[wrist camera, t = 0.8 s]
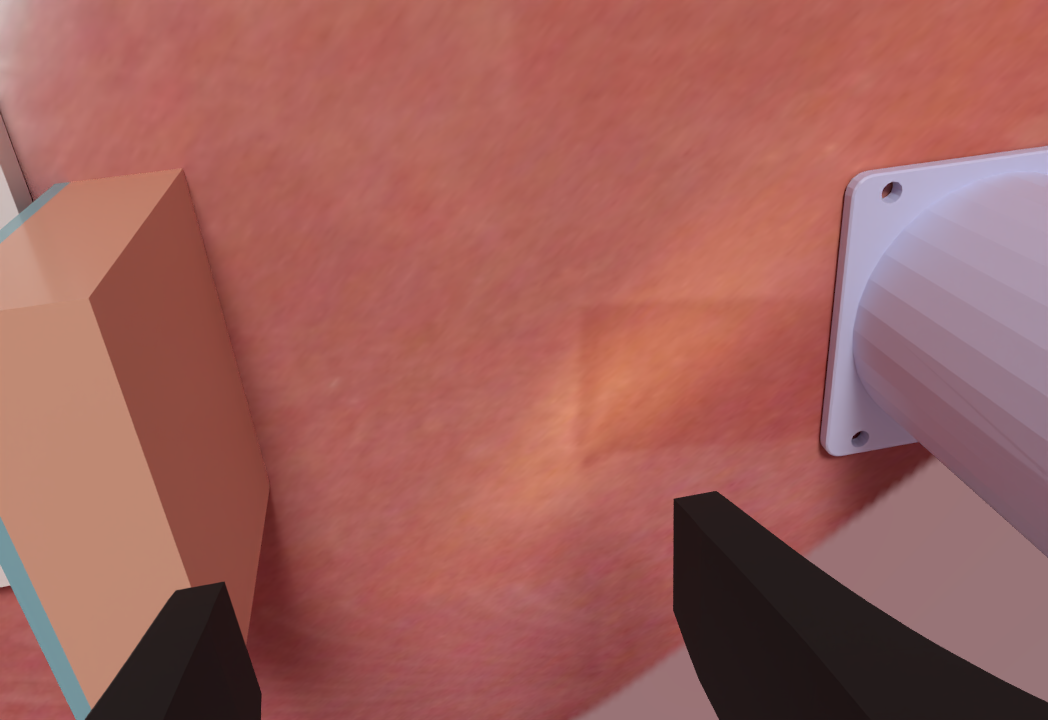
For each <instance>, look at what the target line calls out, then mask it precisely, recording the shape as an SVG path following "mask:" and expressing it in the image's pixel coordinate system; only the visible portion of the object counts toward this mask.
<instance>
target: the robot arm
mask: <svg viewBox="0 0 1048 720" xmlns="http://www.w3.org/2000/svg"><path fill="white" fill-rule="evenodd" d="M891 182H892V183H893V188H892V190H891V193H890V194H889V195H888V196H887V197H885V198H882V195H881V194H882V191H883V188H884V187H885V186H886V185H887V184H888V183H891ZM860 431H861V433H860V435H859V436H858V437H857V438H854V439H852V438H853V436H854V435H855V434H856V433H857V432H860ZM820 441H821V445H822V446H823V447H824V449H825V450H826V451H827V452H828V453H829V454H831V455H833V456H844V455H850V454H855V453H861V452H866V451H872V450H877V449H883V448H888V447H894V446H899V445H905V444H910V443H916V442H919V443H920V444H922V445H923V446H924V447H925V448H926V449H927V450H928V451H929V452H930V453H932V454H933V455H934V456H935V457H936V458H937V459H938V460H939V461H941V462H942V463H943V464H944V465H945V466H946V467H947V468H948V469H949V470H951V471H952V472H953V473H954V474H955V475H956V476H957V477H958V478H959V479H961V480H962V481H963V482H964V483H965V484H966V485H967V486H969V487H970V488H971V489H972V490H973V491H974V492H975V493H976V494H977V495H979V496H980V497H981V498H982V499H983V500H984V501H985V502H986V503H988V504H989V505H990V506H991V507H992V508H993V509H994V510H995V511H996V512H997V513H999V514H1000V515H1001V516H1002V517H1003V518H1004V519H1005V520H1006V521H1008V522H1009V523H1010V524H1011V525H1012V526H1013V527H1014V528H1015V529H1016V530H1018V531H1019V532H1020V533H1021V534H1022V535H1023V536H1024V537H1025V538H1027V539H1028V540H1029V541H1030V542H1031V543H1032V544H1033V545H1034V546H1035V547H1037V548H1038V549H1039V550H1040V551H1041V552H1042V553H1043V554H1044V555H1046V556H1047V557H1048V146H1043V147H1036V148H1029V149H1022V150H1014V151H1007V152H1000V153H992V154H985V155H978V156H971V157H963V158H956V159H949V160H941V161H934V162H927V163H920V164H912V165H905V166H898V167H890V168H883V169H876V170H869V171H865V172H862V173H859V174H858V175H856V176H855V177H854V178H853V179H852V180H851V181H850V183H849V184H848V186H847V189H846V192H845V199H844V209H843V219H842V229H841V239H840V249H839V258H838V268H837V278H836V288H835V298H834V308H833V318H832V327H831V337H830V347H829V357H828V367H827V377H826V387H825V396H824V406H823V416H822V426H821V436H820ZM673 611H674V614H675V617H676V619H677V622H678V625H679V628H680V630H681V633H682V636H683V639H684V642H685V644H686V647H687V650H688V652H689V655H690V658H691V660H692V663H693V665H694V668H695V670H696V673H697V676H698V678H699V681H700V683H701V684H702V687H703V688H704V690H705V693H706V695H707V697H708V699H709V701H710V702H711V704H712V706H713V708H714V710H715V712H716V714H717V716H718V718H719V720H1048V702H1046V701H1044V700H1042V699H1039V698H1037V697H1035V696H1033V695H1031V694H1029V693H1027V692H1025V691H1023V690H1021V689H1019V688H1017V687H1015V686H1013V685H1011V684H1009V683H1007V682H1005V681H1003V680H1001V679H999V678H997V677H995V676H994V675H992V674H990V673H988V672H986V671H984V670H983V669H981V668H979V667H977V666H975V665H973V664H971V663H970V662H968V661H966V660H964V659H962V658H960V657H958V656H957V655H955V654H953V653H951V652H950V651H948V650H946V649H944V648H942V647H940V646H939V645H937V644H935V643H934V642H932V641H930V640H929V639H927V638H925V637H923V636H922V635H920V634H918V633H917V632H915V631H913V630H912V629H910V628H909V627H907V626H905V625H904V624H902V623H901V622H899V621H897V620H896V619H894V618H892V617H891V616H890V615H888V614H886V613H885V612H883V611H882V610H880V609H878V608H877V607H875V606H874V605H872V604H871V603H869V602H867V601H866V600H865V599H863V598H862V597H860V596H858V595H857V594H856V593H854V592H853V591H851V590H850V589H848V588H847V587H845V586H843V585H842V584H841V583H839V582H838V581H837V580H835V579H834V578H832V577H831V576H830V575H828V574H827V573H825V572H824V571H822V570H821V569H820V568H818V567H817V566H815V565H814V564H813V563H811V562H810V561H808V560H807V559H806V558H804V557H803V556H802V555H800V554H799V553H798V552H796V551H795V550H793V549H792V548H791V547H790V546H788V545H787V544H786V543H784V542H783V541H782V540H780V539H779V538H778V537H776V536H775V535H774V534H772V533H771V532H770V531H768V530H767V529H766V528H764V527H763V526H762V525H760V524H759V523H758V522H757V521H755V520H754V519H753V518H751V517H750V516H749V515H747V514H746V513H745V512H743V511H742V510H741V509H740V508H738V507H737V506H736V505H734V504H733V503H732V502H730V501H729V500H728V499H726V498H725V497H724V496H722V495H721V494H720V493H718V492H717V491H713V492H708V493H703V494H697V495H692V496H686V497H681V498H675V499H674V558H673ZM84 720H261V690H260V687H259V684H258V681H257V678H256V675H255V672H254V669H253V666H252V663H251V660H250V657H249V654H248V651H247V648H246V645H245V642H244V639H243V636H242V633H241V630H240V627H239V624H238V621H237V617H236V614H235V611H234V608H233V605H232V602H231V599H230V596H229V593H228V590H227V587H226V584H225V581H224V582H218V583H213V584H208V585H202V586H197V587H191V588H186V589H180V590H176V591H175V592H174V593H173V594H172V596H171V597H170V598H169V599H168V601H167V602H166V604H165V605H164V607H163V608H162V609H161V611H160V612H159V614H158V615H157V617H156V618H155V620H154V621H153V623H152V624H151V625H150V627H149V628H148V630H147V631H146V633H145V634H144V636H143V637H142V639H141V640H140V642H139V643H138V645H137V646H136V647H135V649H134V650H133V652H132V653H131V655H130V656H129V658H128V659H127V661H126V662H125V663H124V665H123V666H122V668H121V669H120V671H119V672H118V674H117V675H116V676H115V678H114V679H113V681H112V682H111V684H110V685H109V686H108V688H107V689H106V691H105V692H104V693H103V695H102V696H101V697H100V699H99V700H98V702H97V703H96V704H95V706H94V707H93V708H92V710H91V711H90V713H89V714H88V715H87V717H86V718H85V719H84Z"/></svg>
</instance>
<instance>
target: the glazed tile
mask: <svg viewBox="0 0 1048 720" xmlns="http://www.w3.org/2000/svg"><path fill="white" fill-rule="evenodd" d="M269 489H270V483H269V479H268V475H267V472H266V468H265V465H264V461H263V457H262V454H261V450H260V446H259V443H258V439H257V436H256V432H255V428H254V425H253V421H252V417H251V414H250V410H249V406H248V403H247V399H246V396H245V392H244V388H243V385H242V381H241V377H240V374H239V370H238V367H237V363H236V359H235V356H234V352H233V348H232V345H231V341H230V338H229V334H228V330H227V327H226V323H225V319H224V316H223V312H222V309H221V305H220V301H219V298H218V294H217V290H216V287H215V283H214V280H213V276H212V272H211V269H210V265H209V261H208V258H207V254H206V251H205V247H204V243H203V240H202V236H201V232H200V229H199V225H198V222H197V218H196V214H195V211H194V207H193V203H192V200H191V196H190V192H189V189H188V185H187V182H186V178H185V174H184V171H183V168H181V169H173V170H165V171H157V172H149V173H141V174H133V175H125V176H116V177H108V178H100V179H92V180H84V181H76V182H68V183H60V184H54V185H53V186H52V187H51V188H49V189H48V190H47V191H46V192H45V193H43V194H42V195H41V196H40V197H39V198H37V199H36V200H35V201H34V202H33V203H31V204H30V205H29V206H28V207H27V208H26V209H24V210H23V211H22V212H21V213H20V214H18V215H17V216H16V217H15V218H14V219H12V220H11V221H10V222H9V223H8V224H6V225H5V226H4V227H3V228H2V229H0V565H1V567H2V569H3V571H4V573H5V575H6V577H7V579H8V582H9V584H10V586H11V588H12V590H13V592H14V594H15V596H16V598H17V600H18V602H19V604H20V606H21V608H22V610H23V612H24V614H25V616H26V618H27V620H28V622H29V624H30V627H31V629H32V631H33V633H34V635H35V637H36V639H37V641H38V643H39V645H40V647H41V649H42V651H43V653H44V655H45V657H46V659H47V661H48V663H49V665H50V667H51V670H52V672H53V674H54V676H55V678H56V680H57V682H58V684H59V686H60V688H61V690H62V692H63V694H64V696H65V698H66V700H67V702H68V704H69V706H70V708H71V710H72V713H73V715H74V717H75V719H76V720H84V719H85V718H86V717H87V715H88V714H89V713H90V711H91V710H92V708H93V707H94V706H95V704H96V703H97V702H98V700H99V699H100V697H101V696H102V695H103V693H104V692H105V691H106V689H107V688H108V686H109V685H110V684H111V682H112V681H113V679H114V678H115V676H116V675H117V674H118V672H119V671H120V669H121V668H122V666H123V665H124V663H125V662H126V661H127V659H128V658H129V656H130V655H131V653H132V652H133V650H134V649H135V647H136V646H137V645H138V643H139V642H140V640H141V639H142V637H143V636H144V634H145V633H146V631H147V630H148V628H149V627H150V625H151V624H152V623H153V621H154V620H155V618H156V617H157V615H158V614H159V612H160V611H161V609H162V608H163V607H164V605H165V604H166V602H167V601H168V599H169V598H170V597H171V596H172V594H173V593H174V592H175V591H176V590H180V589H186V588H191V587H197V586H202V585H208V584H213V583H218V582H224V581H225V584H226V587H227V590H228V593H229V596H230V599H231V602H232V605H233V608H234V611H235V614H236V617H237V621H238V624H239V627H240V630H241V633H242V636H243V639H244V642H245V645H246V644H247V637H248V630H249V624H250V617H251V610H252V604H253V597H254V590H255V583H256V577H257V570H258V563H259V557H260V550H261V543H262V536H263V530H264V523H265V516H266V510H267V503H268V496H269Z"/></svg>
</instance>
